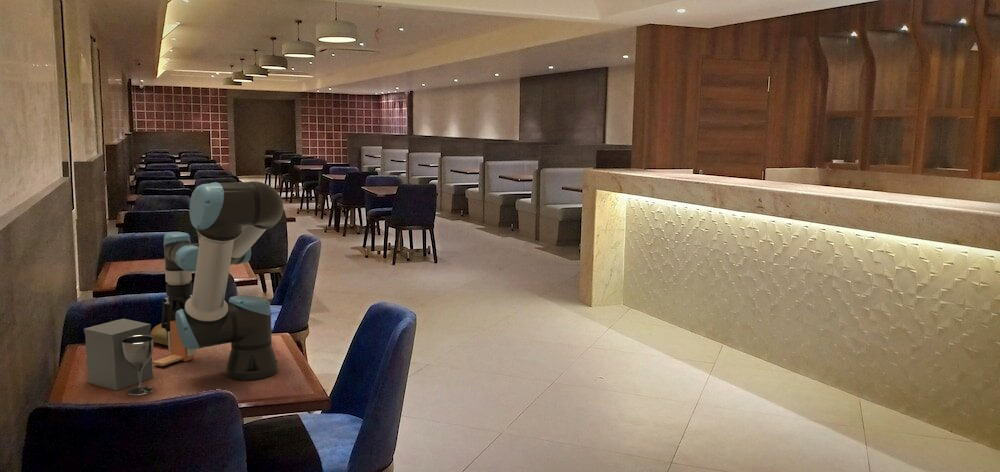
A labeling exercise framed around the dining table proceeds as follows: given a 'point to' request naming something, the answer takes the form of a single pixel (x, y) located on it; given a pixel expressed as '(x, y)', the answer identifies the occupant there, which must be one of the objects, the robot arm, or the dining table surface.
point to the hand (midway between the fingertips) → (182, 352)
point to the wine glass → (138, 358)
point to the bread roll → (159, 335)
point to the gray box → (113, 354)
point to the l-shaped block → (174, 348)
